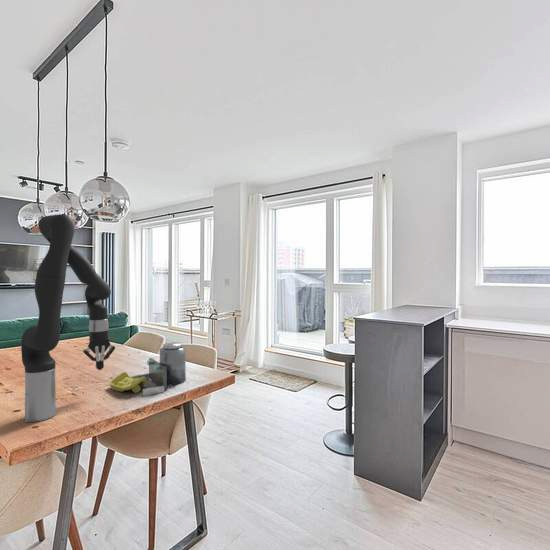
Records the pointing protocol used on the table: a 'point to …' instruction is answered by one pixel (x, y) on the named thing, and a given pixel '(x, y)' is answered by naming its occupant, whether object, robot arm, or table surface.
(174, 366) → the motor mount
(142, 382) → the plastic component
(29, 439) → the table surface
